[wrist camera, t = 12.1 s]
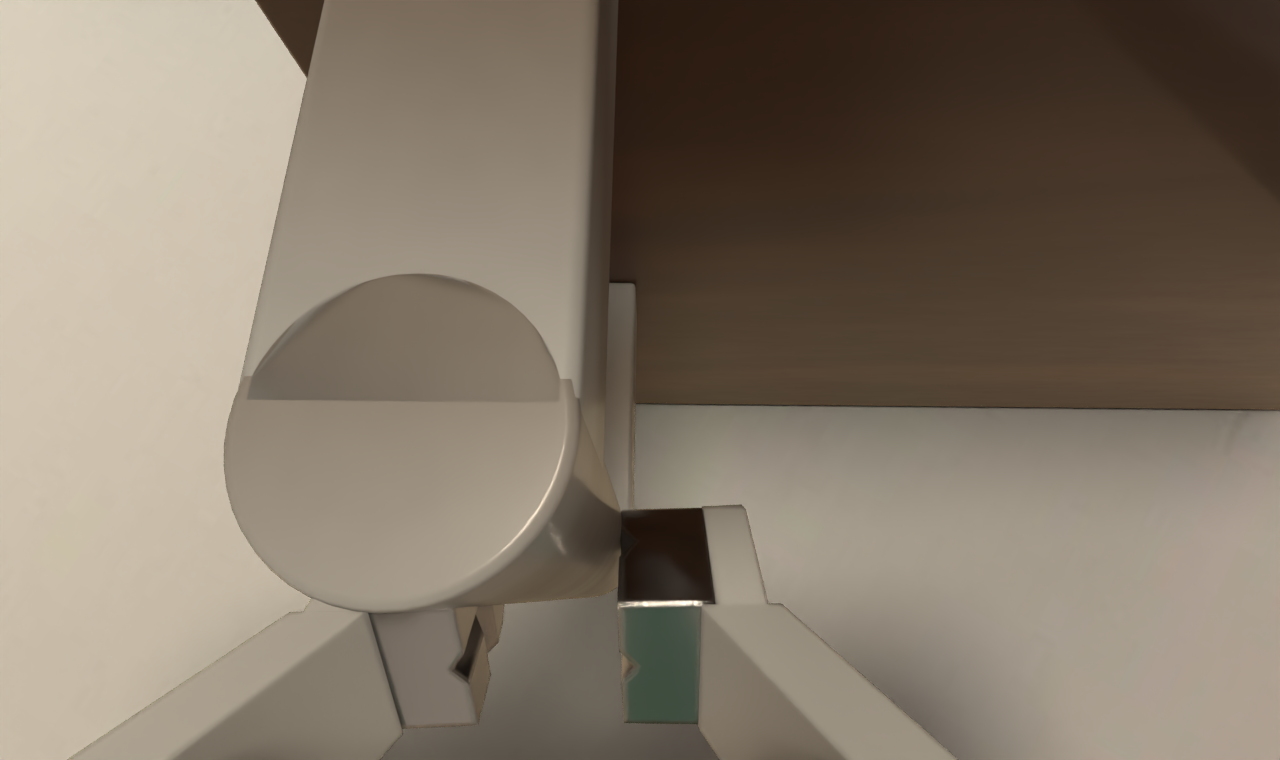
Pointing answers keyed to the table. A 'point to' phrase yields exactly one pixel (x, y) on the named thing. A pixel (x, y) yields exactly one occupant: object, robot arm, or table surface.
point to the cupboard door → (722, 251)
